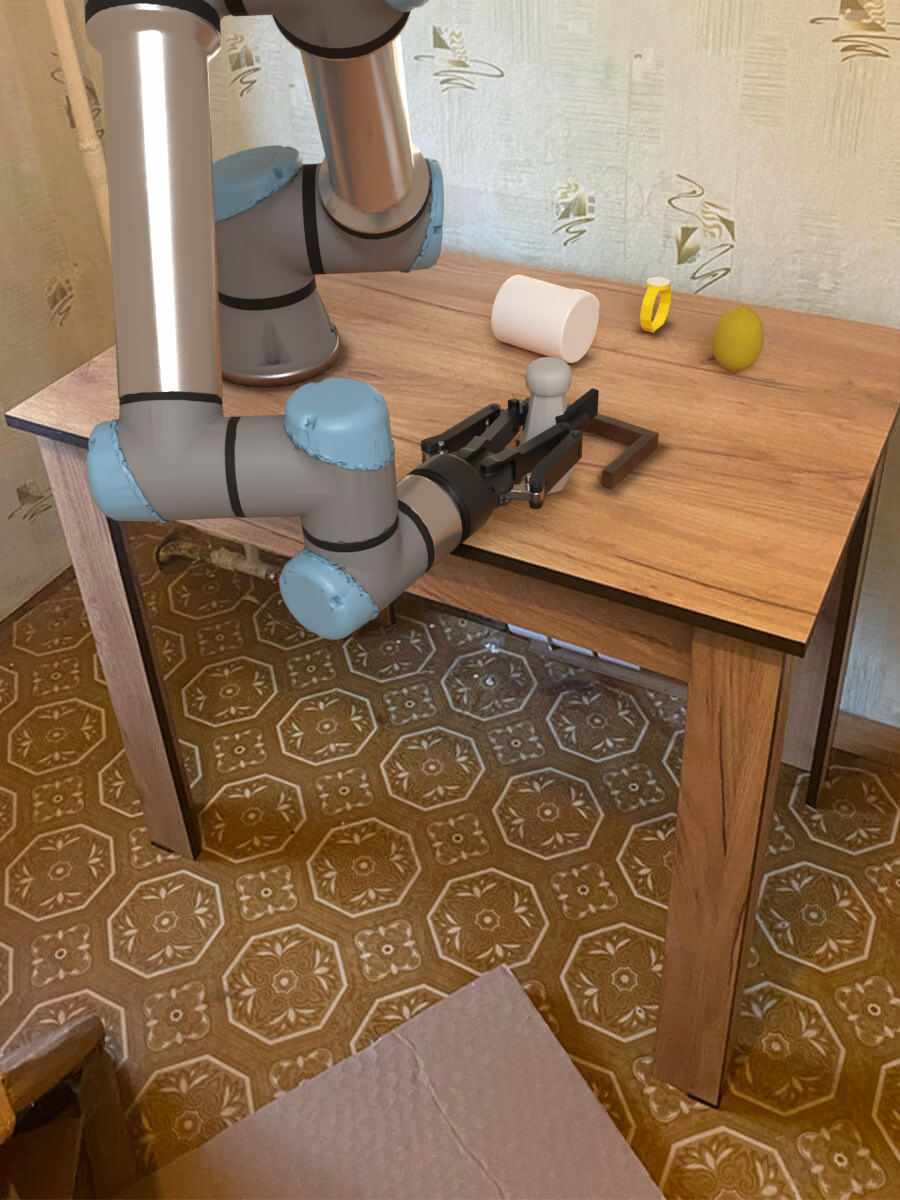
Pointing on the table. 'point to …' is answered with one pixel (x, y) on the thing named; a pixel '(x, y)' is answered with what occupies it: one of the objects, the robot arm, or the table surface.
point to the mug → (545, 318)
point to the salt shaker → (546, 400)
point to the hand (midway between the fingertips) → (578, 396)
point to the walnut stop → (626, 433)
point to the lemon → (738, 339)
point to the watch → (649, 299)
